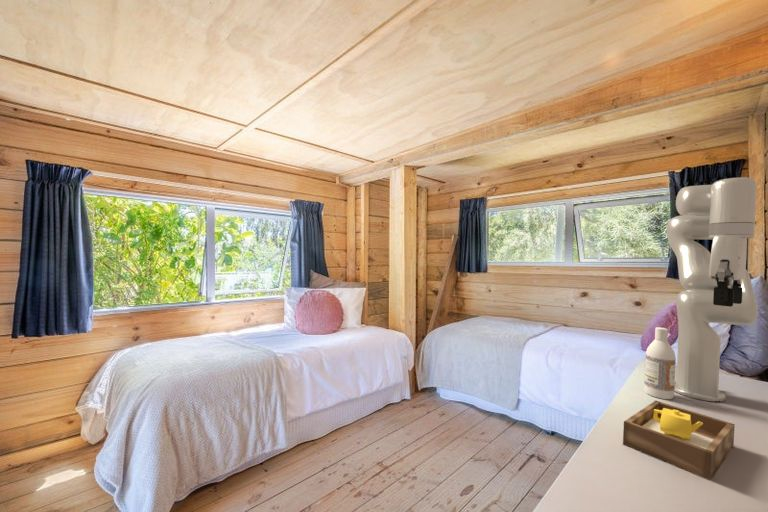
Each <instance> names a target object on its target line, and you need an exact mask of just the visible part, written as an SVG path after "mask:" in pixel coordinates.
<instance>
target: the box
mask: <svg viewBox="0 0 768 512" xmlns="http://www.w3.org/2000/svg"><path fill="white" fill-rule="evenodd" d="M663 408H666V409H670V410H678V411H680V412H682V413H686V414H689V415H691V425H693V424H695V423H697V422H699V421H700V422H702V423H703V424H702V425H701V426H700V427H699V428H698V429H696V430H695V431H694V432H693V433H696V434H699V435H702V436H705V437H708V438H711V439H714V440H713V441H712V442H711V443H710V445H709V446H708V447H707V448H706V449H704V448H701V447H699V446H696V445H693V444H690V443H688V442H685V441H682V440H679V439H676V438H674V437H671V436H668V435H665V434H663V433H660V432H657V431H654V430H651V429H649V428H646V427H643V425H644V424H645V423H647V422H648V421H650V420H651V419H653V415H654V409H656V410H663ZM661 415H662V414H660V413H658V417H659V418H660V419H661ZM622 432H623V434H622V435H623V438H622V445H623V444H624V445H623V446H626V447H628V448H631V449H633V450H636V451H638V452H641V453H643V454H645V455H648V456H650V457H653V458H655V459H657V460H659V461H663V462H664V463H668V464H670V465H672V466H674V467H677V468H679V469H682V470H684V471H687V472H689V473H692V474H695V475H696V476H699V477H701V478H704V479H707V480H709V481H711V480H712V479H713V477H714V476H715V474H716V473H717V471H719V469H720V467H721V466H722V465H723V463H724V461H725V460H726V458H727V457H728V456H729V454H730V453H731V451H732V450H733V448H734V446H735V445H734V443H735V423H733V422H728V421H725V420H722V419H719V418H714V417H711V416H709V415H706V414H702V413H699V412H695V411H692V410H688V409H685V408H683V407H679V406H675V405H672V404H668V403H665V402H663V401H659V400H654V401H653V402H651V403H650V404H648V405H646V406H645V407H644V408H642V409H641V410H639V411H638V412H636V413H635V414H633V415H632V416H630V417H628V418H627V419H625V420H624V421H623V431H622Z"/></svg>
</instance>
